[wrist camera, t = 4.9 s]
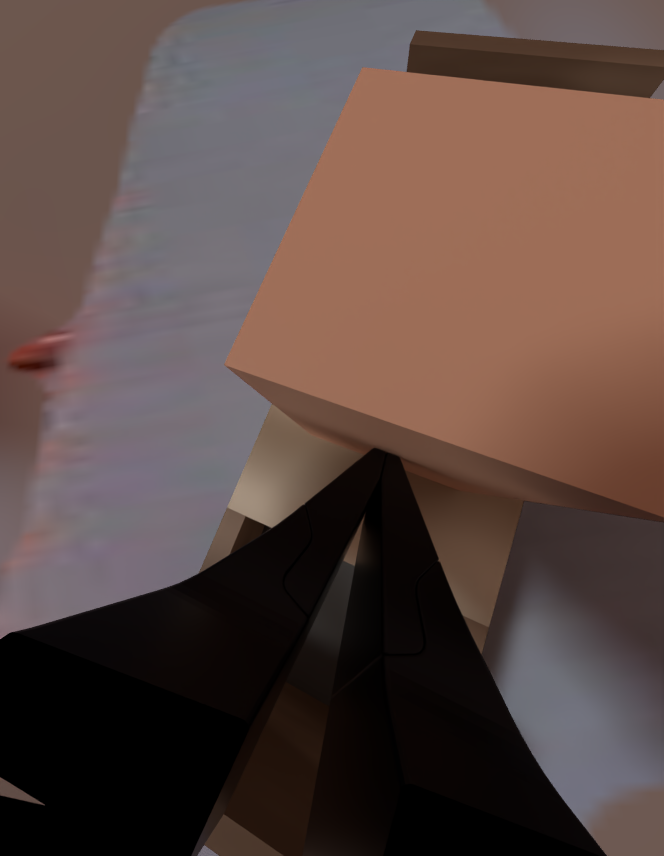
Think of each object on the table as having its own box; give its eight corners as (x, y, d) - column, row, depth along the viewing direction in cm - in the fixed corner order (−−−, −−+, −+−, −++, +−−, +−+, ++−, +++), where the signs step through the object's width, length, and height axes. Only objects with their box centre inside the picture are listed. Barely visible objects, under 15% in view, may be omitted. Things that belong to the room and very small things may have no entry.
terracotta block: (458, 490, 11) (688, 525, 3) (311, 435, 12) (223, 364, 4) (503, 347, 12) (766, 110, 4) (361, 309, 13) (362, 67, 5)
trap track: (398, 765, 13) (430, 1009, 7) (197, 649, 15) (90, 762, 9) (570, 193, 17) (677, 51, 12) (399, 164, 19) (415, 30, 14)
